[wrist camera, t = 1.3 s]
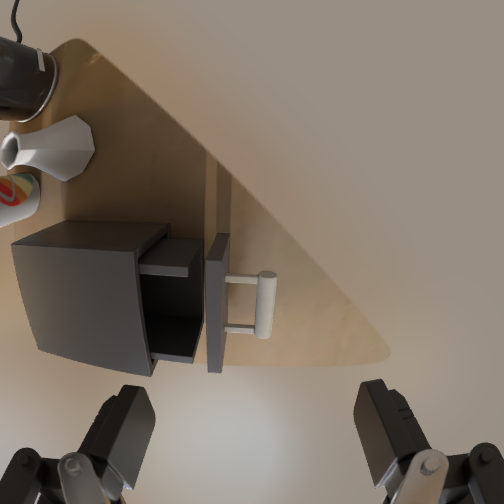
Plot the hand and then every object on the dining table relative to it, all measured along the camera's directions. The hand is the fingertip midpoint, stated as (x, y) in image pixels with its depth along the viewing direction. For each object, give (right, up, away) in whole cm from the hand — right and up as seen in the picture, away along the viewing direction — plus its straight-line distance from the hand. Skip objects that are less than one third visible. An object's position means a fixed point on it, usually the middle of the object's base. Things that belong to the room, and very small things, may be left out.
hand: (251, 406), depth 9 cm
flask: (-20, +17, +16) cm, 31 cm away
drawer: (-6, +3, +19) cm, 20 cm away
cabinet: (-15, +3, +20) cm, 25 cm away
